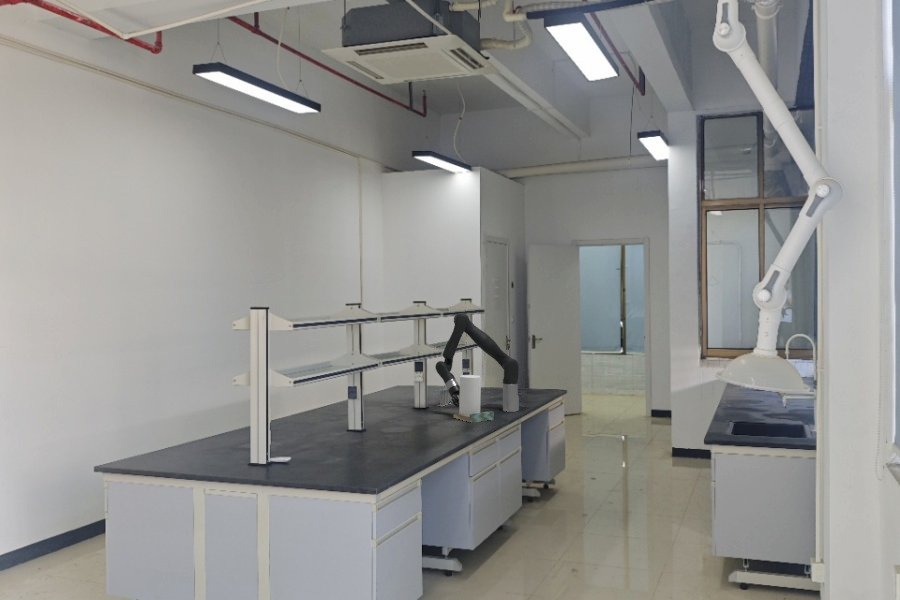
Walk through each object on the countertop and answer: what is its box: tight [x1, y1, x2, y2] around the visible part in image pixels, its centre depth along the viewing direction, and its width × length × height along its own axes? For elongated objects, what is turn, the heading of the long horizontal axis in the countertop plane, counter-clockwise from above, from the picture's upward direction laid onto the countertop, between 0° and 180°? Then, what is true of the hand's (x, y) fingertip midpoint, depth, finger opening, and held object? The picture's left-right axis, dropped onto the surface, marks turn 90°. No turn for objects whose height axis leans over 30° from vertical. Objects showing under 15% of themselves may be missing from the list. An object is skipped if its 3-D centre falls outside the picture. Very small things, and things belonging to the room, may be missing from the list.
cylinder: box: [458, 374, 482, 417], centre depth 461 cm, size 12×12×25 cm
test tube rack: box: [436, 384, 452, 407], centre depth 517 cm, size 25×4×13 cm, turn 156°
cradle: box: [453, 411, 495, 424], centre depth 458 cm, size 16×18×5 cm
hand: (465, 411), depth 465 cm, fingers closed
